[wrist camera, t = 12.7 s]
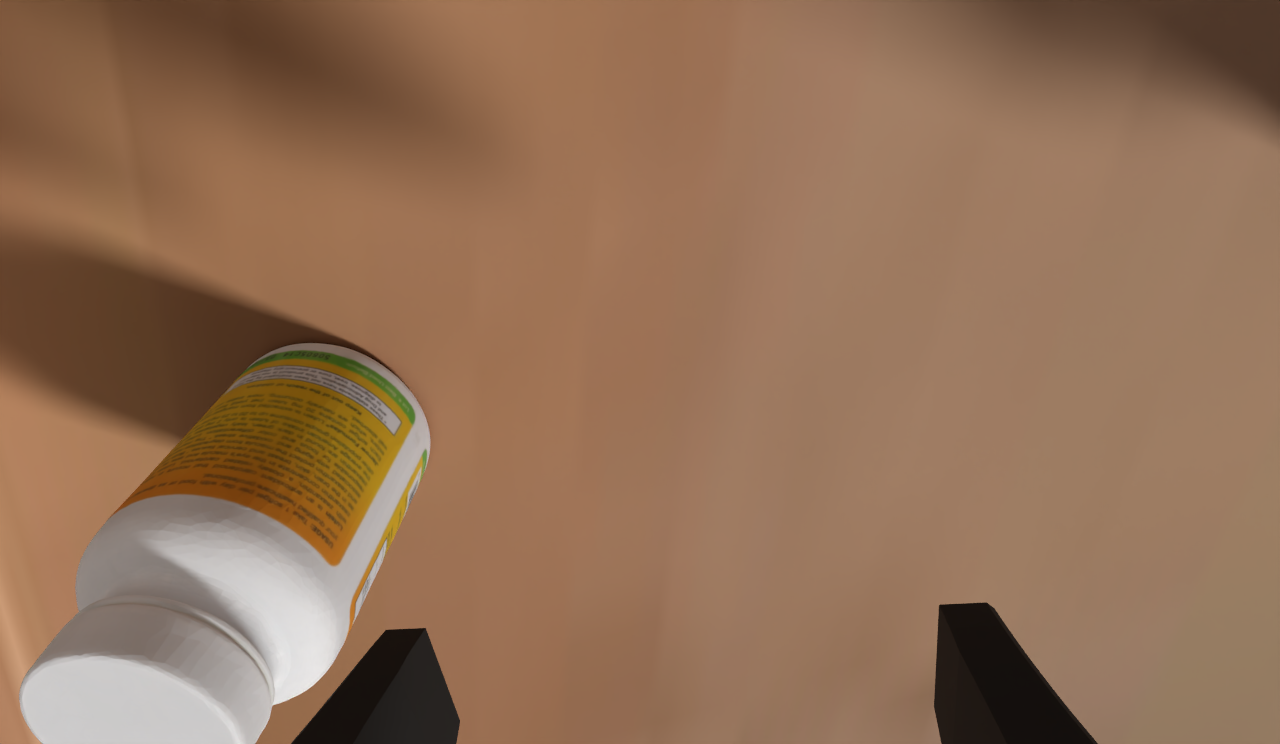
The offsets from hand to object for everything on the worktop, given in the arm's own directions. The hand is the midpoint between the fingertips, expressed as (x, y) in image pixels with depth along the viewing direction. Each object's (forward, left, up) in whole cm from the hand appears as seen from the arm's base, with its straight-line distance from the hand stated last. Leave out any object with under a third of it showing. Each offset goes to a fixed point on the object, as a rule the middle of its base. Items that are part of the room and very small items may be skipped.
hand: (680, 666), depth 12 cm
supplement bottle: (+10, +2, -11) cm, 15 cm away
